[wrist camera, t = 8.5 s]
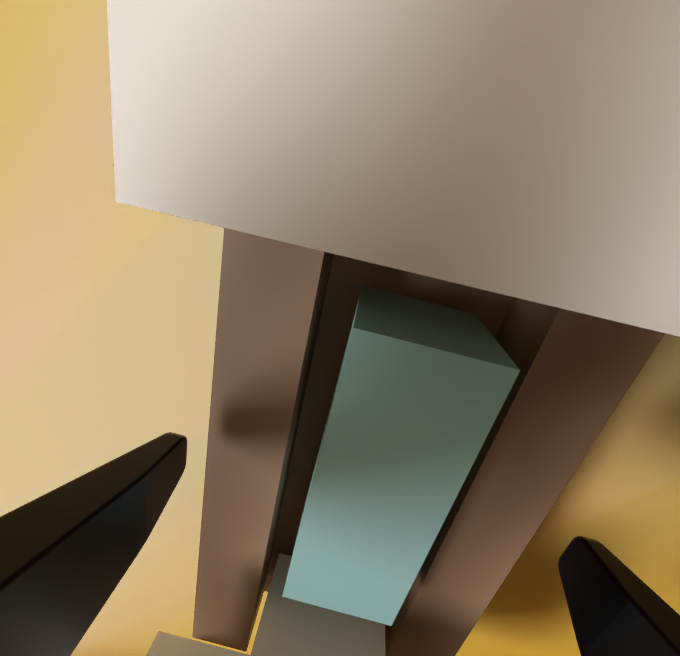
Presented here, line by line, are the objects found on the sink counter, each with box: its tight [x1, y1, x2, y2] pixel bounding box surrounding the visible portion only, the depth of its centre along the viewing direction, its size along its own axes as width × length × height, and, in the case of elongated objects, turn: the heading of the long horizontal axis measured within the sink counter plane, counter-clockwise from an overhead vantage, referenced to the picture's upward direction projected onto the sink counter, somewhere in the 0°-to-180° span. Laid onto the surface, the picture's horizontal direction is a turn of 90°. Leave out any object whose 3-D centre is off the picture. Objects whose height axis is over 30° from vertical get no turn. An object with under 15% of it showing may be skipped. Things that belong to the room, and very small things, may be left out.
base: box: [107, 0, 680, 656], centre depth 8 cm, size 9×20×6 cm, turn 168°
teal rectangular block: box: [282, 285, 520, 626], centre depth 9 cm, size 8×3×3 cm, turn 167°
